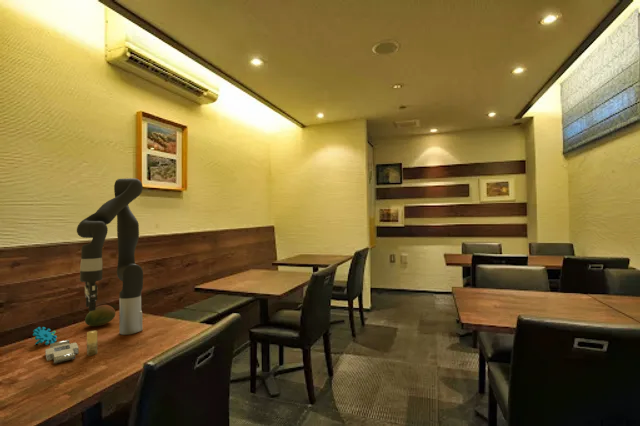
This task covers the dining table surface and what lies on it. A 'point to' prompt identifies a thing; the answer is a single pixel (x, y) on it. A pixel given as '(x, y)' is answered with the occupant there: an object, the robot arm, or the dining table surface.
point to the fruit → (100, 315)
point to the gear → (44, 335)
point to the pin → (91, 343)
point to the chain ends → (62, 351)
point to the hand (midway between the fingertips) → (90, 308)
